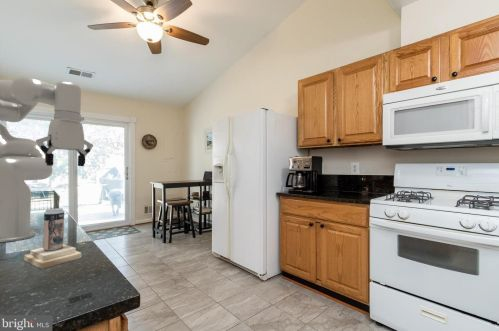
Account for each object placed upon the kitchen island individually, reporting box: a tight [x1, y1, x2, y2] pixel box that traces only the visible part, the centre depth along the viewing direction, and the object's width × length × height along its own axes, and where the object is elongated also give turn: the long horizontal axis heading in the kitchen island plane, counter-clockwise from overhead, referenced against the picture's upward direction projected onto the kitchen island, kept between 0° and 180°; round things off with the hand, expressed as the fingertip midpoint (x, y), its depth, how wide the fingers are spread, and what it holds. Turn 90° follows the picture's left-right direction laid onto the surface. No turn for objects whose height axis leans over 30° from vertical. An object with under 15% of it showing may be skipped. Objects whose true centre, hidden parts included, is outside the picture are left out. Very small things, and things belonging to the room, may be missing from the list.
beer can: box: [42, 207, 65, 251], centre depth 75 cm, size 5×5×12 cm
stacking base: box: [23, 243, 83, 270], centre depth 75 cm, size 12×10×3 cm
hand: (66, 165), depth 88 cm, fingers open, 9 cm apart
